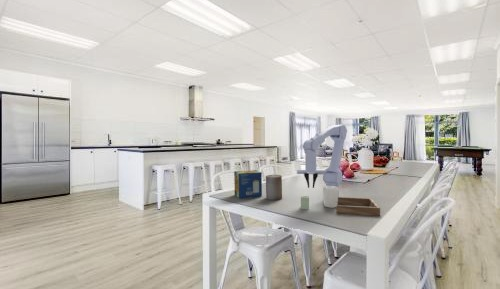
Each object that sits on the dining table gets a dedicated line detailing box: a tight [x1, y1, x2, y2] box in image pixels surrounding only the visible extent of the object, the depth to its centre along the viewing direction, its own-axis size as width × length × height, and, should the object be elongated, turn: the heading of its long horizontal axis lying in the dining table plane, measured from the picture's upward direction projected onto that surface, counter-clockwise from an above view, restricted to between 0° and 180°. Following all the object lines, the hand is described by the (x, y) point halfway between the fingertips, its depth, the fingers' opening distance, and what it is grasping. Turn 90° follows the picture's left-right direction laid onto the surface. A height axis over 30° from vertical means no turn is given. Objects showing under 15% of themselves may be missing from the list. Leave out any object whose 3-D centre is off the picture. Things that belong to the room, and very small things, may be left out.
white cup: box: [322, 185, 338, 209], centre depth 132 cm, size 8×8×10 cm
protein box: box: [233, 169, 263, 199], centre depth 158 cm, size 10×15×16 cm
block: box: [300, 195, 310, 210], centre depth 129 cm, size 4×4×6 cm
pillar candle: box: [265, 174, 283, 201], centre depth 151 cm, size 10×10×15 cm
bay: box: [335, 196, 381, 216], centre depth 126 cm, size 19×19×4 cm
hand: (311, 187), depth 135 cm, fingers closed
